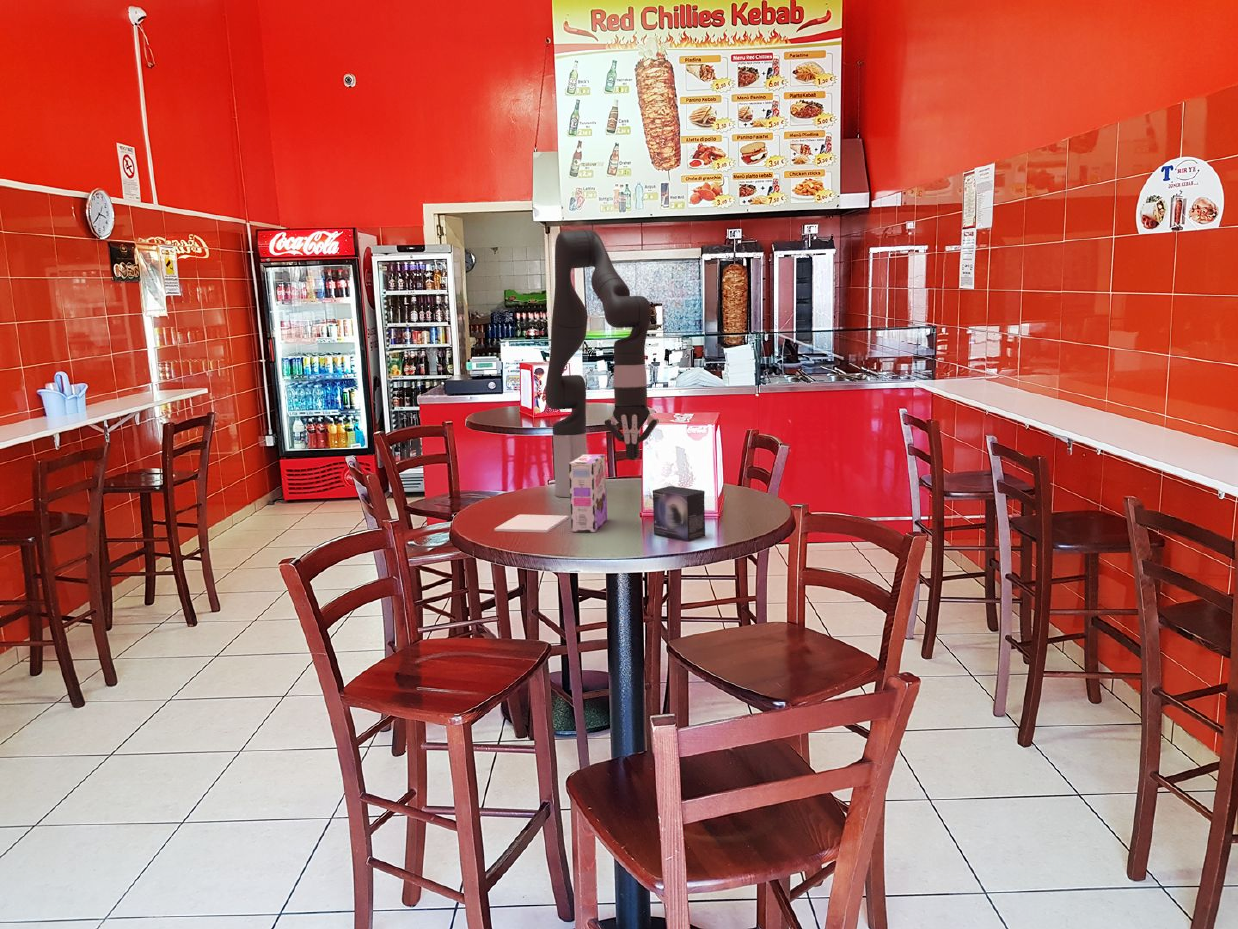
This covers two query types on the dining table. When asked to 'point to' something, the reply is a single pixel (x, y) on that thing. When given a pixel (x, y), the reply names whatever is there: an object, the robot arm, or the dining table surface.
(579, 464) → the candy box
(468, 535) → the dining table surface
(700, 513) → the small box
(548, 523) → the mat
